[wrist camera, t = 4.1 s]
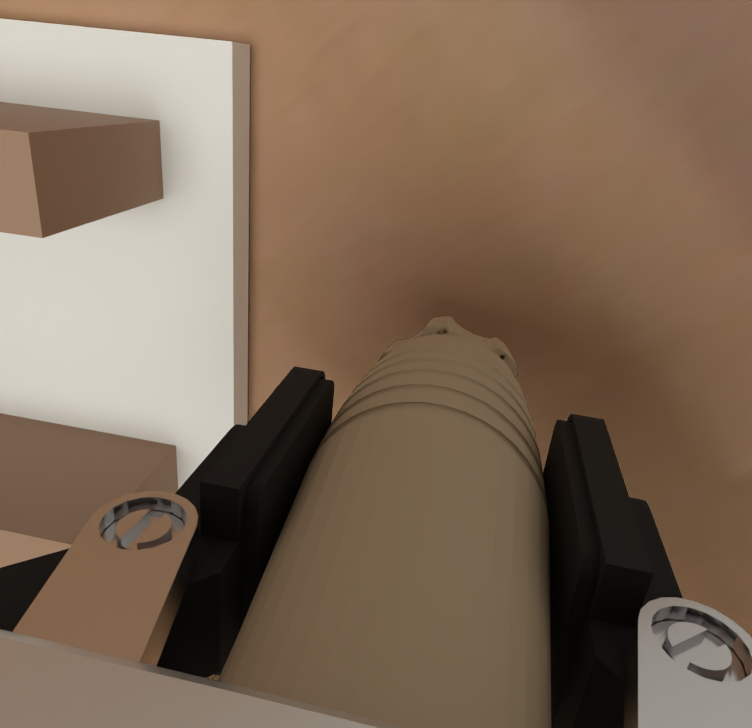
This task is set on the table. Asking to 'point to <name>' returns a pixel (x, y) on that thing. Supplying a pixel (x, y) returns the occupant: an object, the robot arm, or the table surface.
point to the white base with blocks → (116, 269)
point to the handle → (414, 551)
